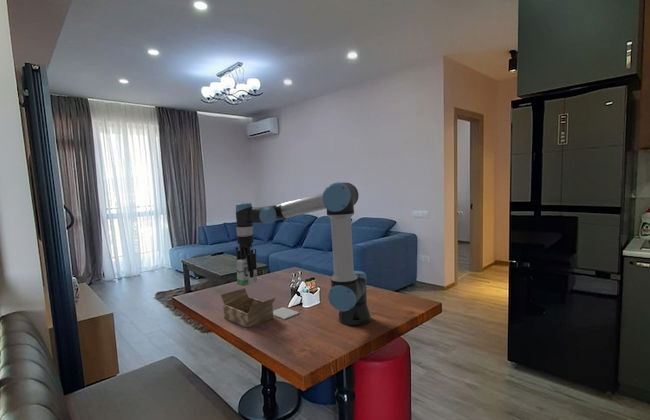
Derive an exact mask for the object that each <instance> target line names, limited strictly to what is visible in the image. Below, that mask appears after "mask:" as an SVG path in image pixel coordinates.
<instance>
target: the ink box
mask: <svg viewBox="0 0 650 420" xmlns="http://www.w3.org/2000/svg"><path fill="white" fill-rule="evenodd" d="M235 261H236V264H235V265H236V282H237V283H236V285H239V286H242V287H245V286H248V285H249V284H248V271H247V270H249V269H248V264H247V259H240V260H237V259H236V260H235ZM256 267H257V268H258V265H257V263H256ZM256 283H258V270H257V269H255V270H254V283H253V284H256Z"/></svg>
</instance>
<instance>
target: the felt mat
mask: <svg viewBox="0 0 650 420" xmlns="http://www.w3.org/2000/svg"><path fill="white" fill-rule="evenodd" d="M297 315H300V312H299V311H296V310H293V309H290V308H288V307H284V306H283V307H280V308H277V309H273V317H275V318H278V319H281V320H282V321H283V320H284V321H285V320H287V319H289V318H293V317H295V316H297Z"/></svg>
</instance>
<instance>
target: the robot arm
mask: <svg viewBox="0 0 650 420" xmlns="http://www.w3.org/2000/svg"><path fill="white" fill-rule="evenodd" d="M358 200H359V191H358V188H357V187H356V186H355V185H354V184H353V183H351V182H342V181H341V182H334V183H331V184H329V185H328V186H326V187H325V189H324V191H323V192H322V193H317V194H315V195H314V194H313V195H310V196H306V197H302V198H299V199H294V200H291V201H286V202H282V203H278V204H275V205H267V206H257V207H256V206H253V204H252V203H251V202H241V203H240V202H239V203H236V205H235V219H236V235H237V237H236V239H237V241H236V242H237V244H238V245H239V246H236V247H235V251H236V261H237V260H240V259H247V264H248V269H249V270H247V271H248V284H249V285H252V284H255V283H254V270H255V269H257V268H258V266H257V267H256V264H257V249H256V248H253V246H252V244H253V243H254V229H253V228H254V227H253V225H254V224H265V225H266V224H273V223H274V222H275V221H280V220H284V219H288V218H292V217H295V216H301V215H306V214H308V213H314V212H318V211H322V210H326V216H327V217H328V218H329V219H330V228H331V229H330V230H331V242H332V243H331V246H332V247H331V248H332V261H333V262H332V263H333V274H332V276H331V277H330V286H331V288H330V289H329V290H328V294H327V297H328V298H327V299H328V302H329V305H331V306H332V308H333V309H335V310H336V311H339V312H338V321H339V322H340V323H341V324H343V325H345V324H346V325H347V326H351V325H360V326H363V324H365V325H367V324H369V323H370V322H371V320H372V319H371V312H370V309H369V306H368V303H367V297H368V296H367V293H368V292H367V274H366V272H364V271H361V270H355V269H354V267H355V266H354V252H353V232H352V217H353V216H354V215H355V208H354V206H355V205H356V204H357V202H358ZM369 321H370V322H369ZM368 322H369V323H368ZM366 323H367V324H366Z"/></svg>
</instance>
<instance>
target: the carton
mask: <svg viewBox="0 0 650 420" xmlns="http://www.w3.org/2000/svg"><path fill="white" fill-rule="evenodd" d="M220 297H221V300H222V302H223V305H222V306H223V318H224V319H226V320H228V321H231V322H232V323H235V324H237V325H239V326H241V327H245V328H246V329H248V328H251V327H254V326H256V325H259V324H261V323H263V322H266V321H268V320H271V319H273V318H274V316H273V311H274V302H275V300H276V297H273V298H270V299H268V300H264V301H263V300H260V299H257V298H255V297H252V296H249V295H248V293H247V290H246V288H245V287H243V288H239V289H236V290H234V291H229V292H227V293H223V294H220ZM245 311H247V312H245Z"/></svg>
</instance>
